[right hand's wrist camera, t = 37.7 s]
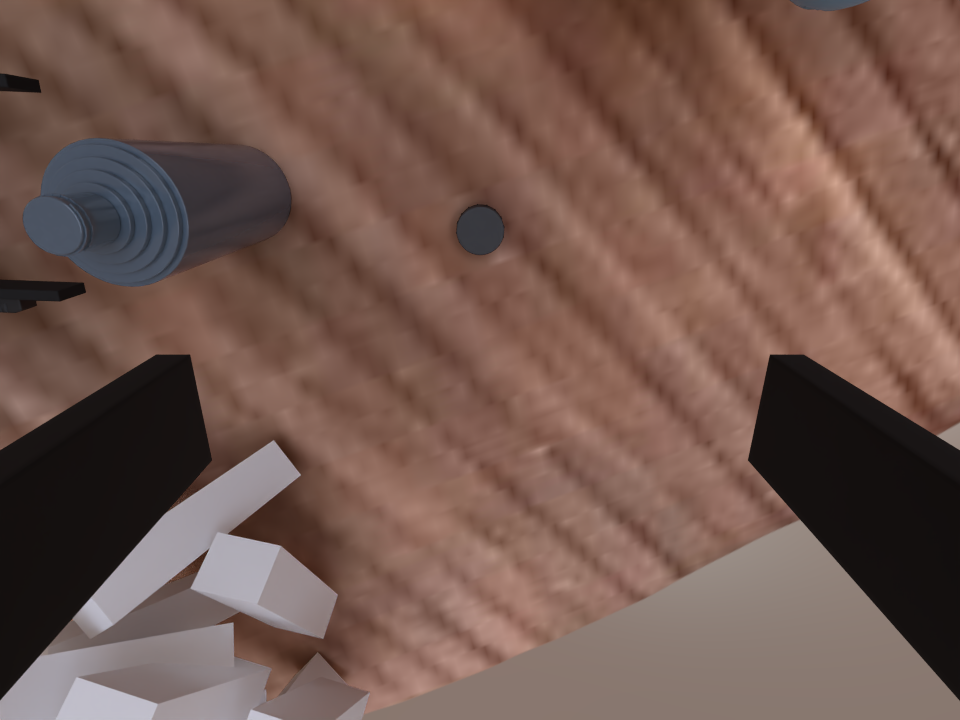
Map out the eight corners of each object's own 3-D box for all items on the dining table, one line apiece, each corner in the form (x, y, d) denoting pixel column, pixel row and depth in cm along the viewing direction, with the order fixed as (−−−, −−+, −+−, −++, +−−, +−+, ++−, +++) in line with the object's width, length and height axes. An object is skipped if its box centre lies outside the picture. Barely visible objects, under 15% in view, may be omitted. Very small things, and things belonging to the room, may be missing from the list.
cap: (509, 243, 44) (510, 246, 43) (465, 257, 45) (465, 261, 43) (495, 197, 43) (496, 199, 41) (450, 212, 43) (449, 215, 42)
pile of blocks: (467, 571, 63) (485, 747, 28) (291, 784, 59) (64, 1287, 25) (251, 379, 65) (20, 323, 30) (66, 574, 61) (-444, 769, 26)
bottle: (245, 260, 45) (67, 338, 26) (177, 184, 43) (-73, 208, 23) (310, 204, 43) (173, 243, 24) (243, 123, 41) (34, 94, 22)
